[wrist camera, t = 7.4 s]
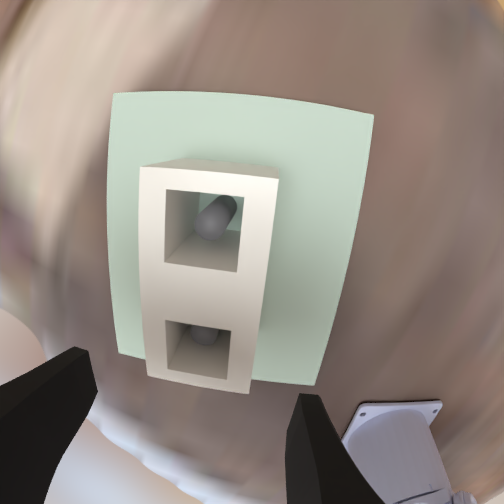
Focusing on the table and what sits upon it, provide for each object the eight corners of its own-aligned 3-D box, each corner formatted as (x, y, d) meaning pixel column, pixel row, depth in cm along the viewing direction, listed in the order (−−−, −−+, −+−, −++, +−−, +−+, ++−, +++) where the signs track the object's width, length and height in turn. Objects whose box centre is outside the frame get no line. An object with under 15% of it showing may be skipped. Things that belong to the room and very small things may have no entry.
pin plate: (312, 370, 20) (318, 426, 15) (127, 340, 20) (96, 385, 16) (365, 117, 14) (401, 108, 10) (126, 96, 15) (75, 85, 10)
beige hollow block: (256, 331, 17) (248, 394, 13) (177, 319, 18) (147, 375, 13) (278, 167, 14) (278, 179, 10) (182, 158, 14) (139, 166, 10)
